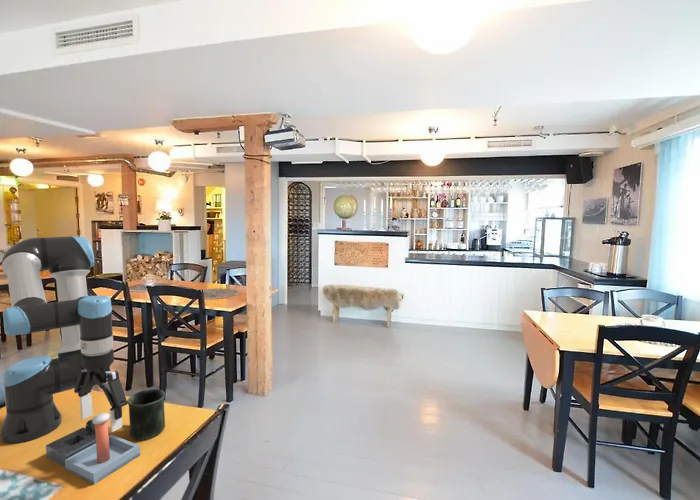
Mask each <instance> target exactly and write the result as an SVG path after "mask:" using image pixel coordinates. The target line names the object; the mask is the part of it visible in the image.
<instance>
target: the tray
mask: <svg viewBox="0 0 700 500" xmlns="http://www.w3.org/2000/svg"><path fill="white" fill-rule="evenodd" d="M108 436H109V452H110V459H109V460H108V461H106V462H104V463H98V462H97V449H96V443H95V444H93V445H92V446H90V447H88V448H86V449H84V450H82V451H80V452H79V453H77V454H75V455H73V456H71V457H69V458H67V459H66V460H65V467H64V469H65V471H67V472H69V473H71V474H73V475H75V476H77V477H79V478H81V479H82V480H84V481H87V482H88V483H90V484H92V485H95V484H97V483H99V482H100V481H102V480H104V479H105V478H106V477H109V475H111V474H113V473H114V472H116V471H117V470H120V468H122V467H124V466H125V465H127V464H129V463H130V462H132V461H134V460H135V459H137V458H138V457H140V456H141V446H140V445H139V444H136V443H134V442H131V441H129V440H126V439H125V438H122V437H119V436H117V435H114V434H110V435H108Z"/></svg>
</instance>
